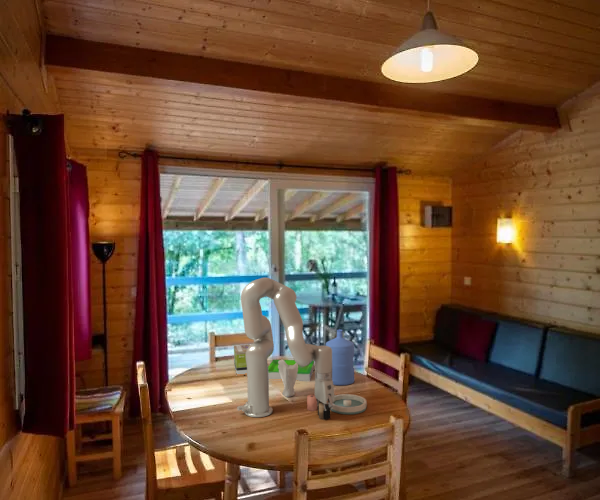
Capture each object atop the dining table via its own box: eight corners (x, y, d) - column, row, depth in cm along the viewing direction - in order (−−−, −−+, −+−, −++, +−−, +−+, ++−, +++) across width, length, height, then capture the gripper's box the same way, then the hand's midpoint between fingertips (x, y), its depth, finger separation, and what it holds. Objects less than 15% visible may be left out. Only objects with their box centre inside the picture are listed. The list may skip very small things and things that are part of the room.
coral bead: (310, 411, 203) (309, 398, 203) (305, 408, 207) (305, 395, 207) (318, 409, 205) (318, 396, 205) (314, 406, 209) (313, 393, 209)
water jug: (342, 388, 235) (342, 334, 234) (319, 381, 245) (319, 330, 244) (360, 380, 246) (360, 329, 245) (337, 375, 257) (337, 326, 256)
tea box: (233, 369, 269) (233, 344, 269) (250, 368, 272) (250, 343, 271) (236, 377, 255) (236, 351, 254) (254, 375, 257) (253, 349, 257)
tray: (273, 367, 274) (273, 359, 274) (314, 368, 271) (314, 360, 271) (264, 380, 249) (264, 371, 249) (309, 382, 246) (309, 373, 246)
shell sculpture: (300, 395, 224) (300, 359, 224) (288, 399, 218) (288, 362, 218) (288, 391, 230) (288, 356, 230) (276, 395, 224) (276, 359, 224)
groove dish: (341, 417, 197) (341, 410, 197) (321, 404, 212) (321, 397, 212) (373, 410, 204) (373, 403, 204) (352, 398, 220) (352, 392, 220)
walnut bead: (322, 420, 194) (321, 406, 193) (317, 416, 197) (316, 403, 197) (330, 418, 196) (330, 404, 195) (325, 415, 199) (325, 401, 199)
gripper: (341, 379, 190) (341, 422, 191) (321, 368, 205) (322, 408, 206) (325, 381, 187) (326, 425, 187) (307, 371, 202) (307, 411, 202)
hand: (323, 416), depth 196 cm, fingers closed on walnut bead, 4 cm apart
